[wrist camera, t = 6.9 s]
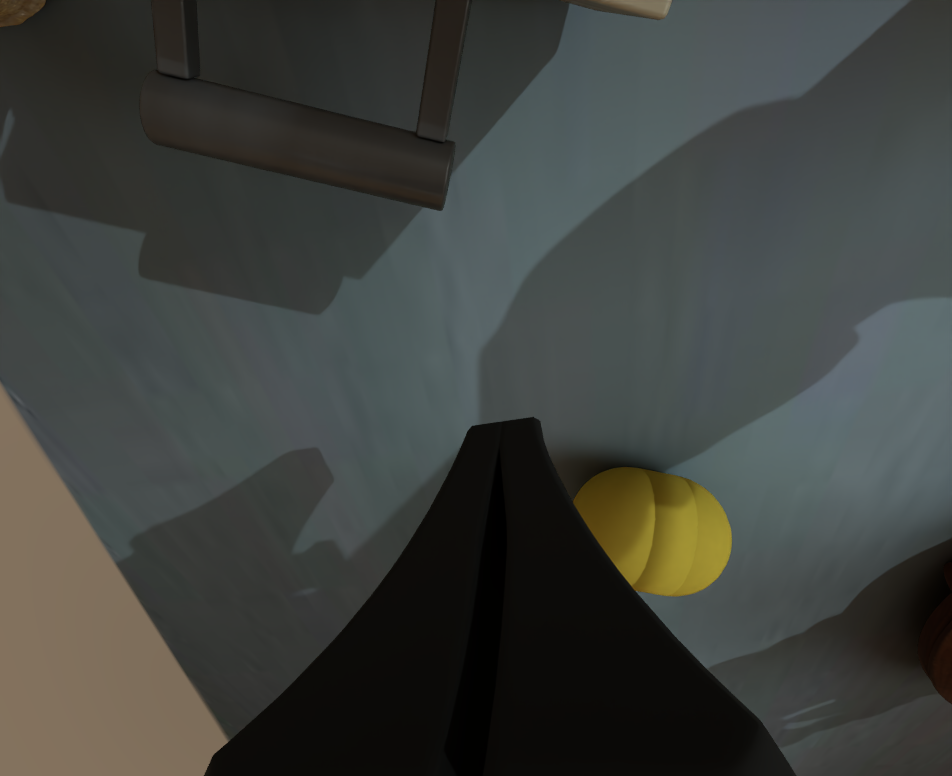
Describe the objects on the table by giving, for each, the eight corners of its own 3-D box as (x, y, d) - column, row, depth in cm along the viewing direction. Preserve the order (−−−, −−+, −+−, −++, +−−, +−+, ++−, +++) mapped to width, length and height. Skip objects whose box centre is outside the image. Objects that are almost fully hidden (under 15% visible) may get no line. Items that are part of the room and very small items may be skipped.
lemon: (730, 462, 23) (775, 555, 19) (682, 536, 25) (713, 630, 22) (583, 433, 22) (600, 522, 18) (550, 511, 25) (558, 603, 21)
